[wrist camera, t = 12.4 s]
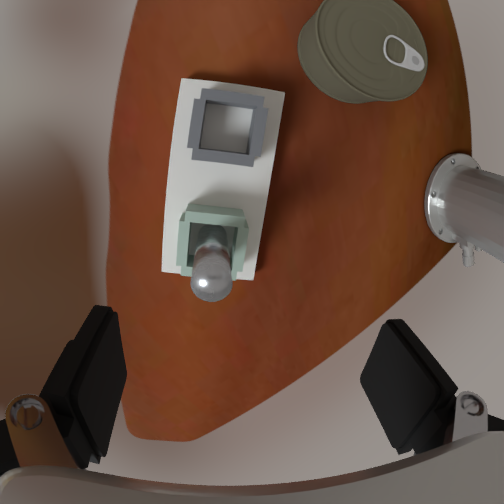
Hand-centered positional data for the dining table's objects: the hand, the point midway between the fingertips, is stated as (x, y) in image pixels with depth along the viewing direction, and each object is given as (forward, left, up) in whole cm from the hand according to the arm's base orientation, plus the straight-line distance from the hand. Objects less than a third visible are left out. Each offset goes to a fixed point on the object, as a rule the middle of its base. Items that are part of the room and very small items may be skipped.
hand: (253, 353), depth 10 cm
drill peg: (-2, +3, -22) cm, 22 cm away
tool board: (+2, 0, -23) cm, 23 cm away
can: (+9, -19, -23) cm, 32 cm away
